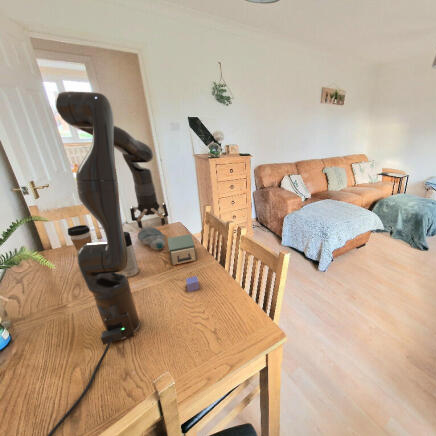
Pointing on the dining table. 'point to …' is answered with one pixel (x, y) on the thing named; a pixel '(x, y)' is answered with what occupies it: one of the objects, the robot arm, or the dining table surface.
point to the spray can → (130, 258)
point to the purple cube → (192, 283)
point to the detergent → (152, 237)
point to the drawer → (183, 255)
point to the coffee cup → (80, 236)
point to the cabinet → (180, 243)
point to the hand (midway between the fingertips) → (152, 226)
